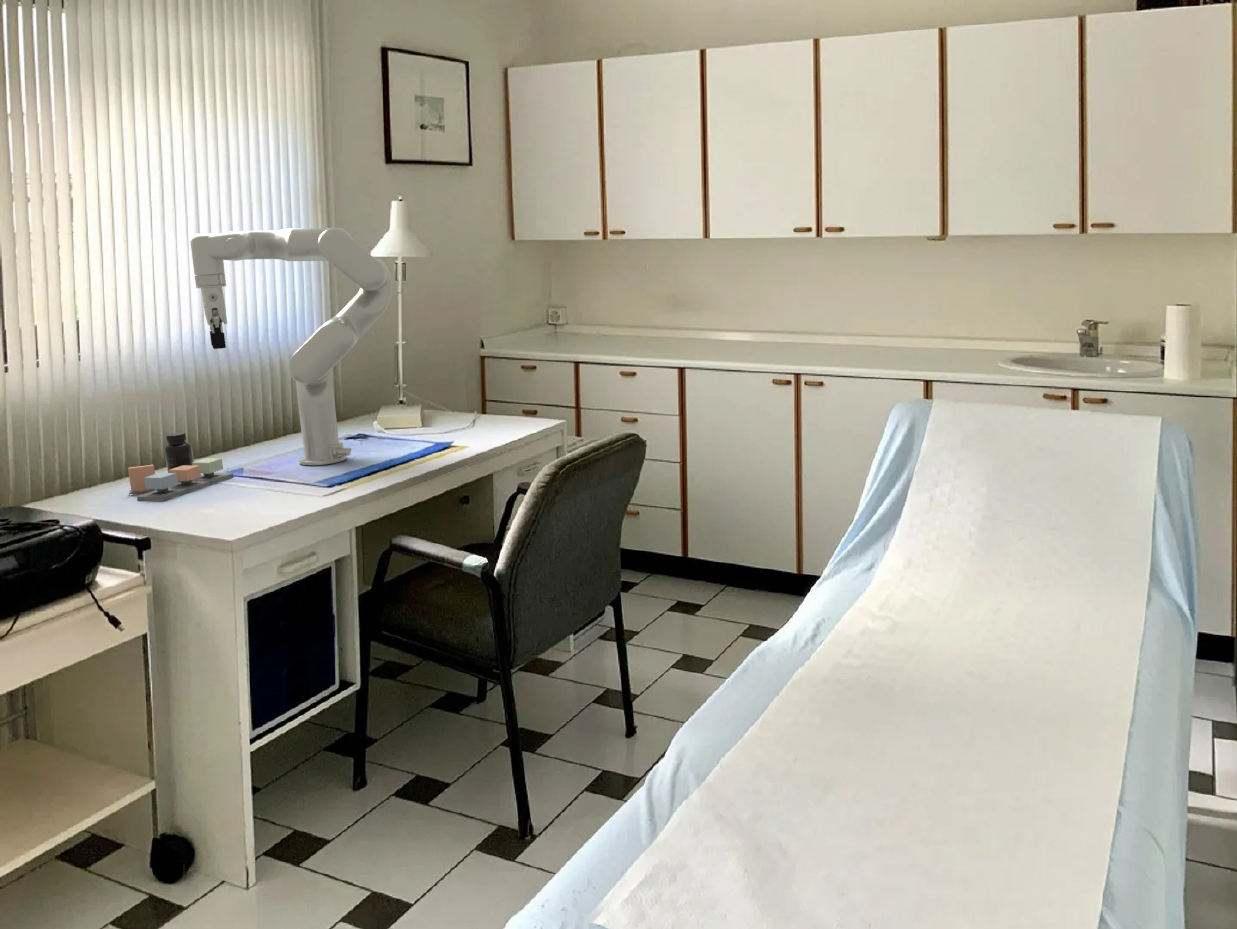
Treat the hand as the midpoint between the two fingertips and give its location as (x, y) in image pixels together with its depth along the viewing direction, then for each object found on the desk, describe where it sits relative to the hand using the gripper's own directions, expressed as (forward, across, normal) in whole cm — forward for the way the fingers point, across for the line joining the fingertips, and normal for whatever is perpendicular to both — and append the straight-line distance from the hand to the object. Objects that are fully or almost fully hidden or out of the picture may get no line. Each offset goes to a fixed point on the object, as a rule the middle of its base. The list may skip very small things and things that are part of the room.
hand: (218, 346), depth 310 cm
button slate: (+32, -25, +18) cm, 44 cm away
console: (+33, -19, +12) cm, 40 cm away
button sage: (+32, -12, +7) cm, 34 cm away
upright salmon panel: (+33, -16, +22) cm, 43 cm away
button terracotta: (+32, -19, +12) cm, 39 cm away
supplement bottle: (+33, -5, +13) cm, 36 cm away
